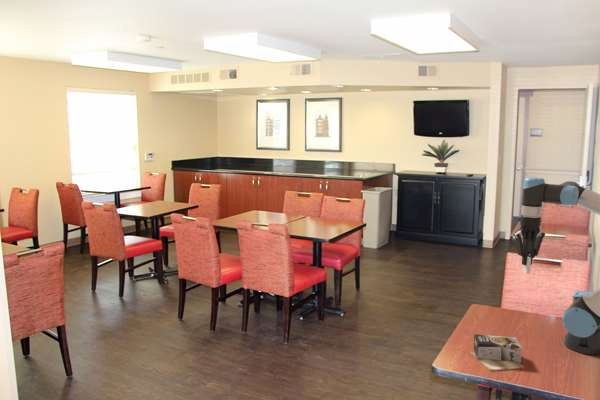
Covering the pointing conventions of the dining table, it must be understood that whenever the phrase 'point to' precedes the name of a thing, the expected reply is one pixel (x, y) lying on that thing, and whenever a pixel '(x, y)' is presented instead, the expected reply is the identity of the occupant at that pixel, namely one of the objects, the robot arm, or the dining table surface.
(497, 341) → the coffee box
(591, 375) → the dining table surface
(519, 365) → the beige board
